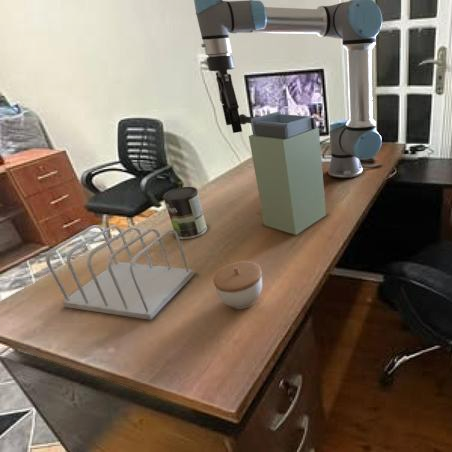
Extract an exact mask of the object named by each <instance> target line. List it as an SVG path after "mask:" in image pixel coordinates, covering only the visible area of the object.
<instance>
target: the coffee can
mask: <svg viewBox="0 0 452 452" xmlns="http://www.w3.org/2000/svg"><path fill="white" fill-rule="evenodd" d="M162 199H163V201H164V205H165V207H166V209H167V213H168V216H169V219H170V222H171V225H172V230H175V231H176V232H177V234H178V236H179V239H180V240H190V239H194V238H198V237H199V236H200V237H201V236H202V235H204V233H206V232H207V230H208V226H207V223H206V219H205V215H204V211H203V208H202V205H201V200H200V197H199V193H198V188H196V187H194V186H182V187H176V188H173V189H170V190H168V191H166V192H165V193H163V195H162Z"/></svg>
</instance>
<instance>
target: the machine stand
mask: <svg viewBox="0 0 452 452" xmlns="http://www.w3.org/2000/svg"><path fill="white" fill-rule="evenodd" d="M311 126H312V129H311V130H308V131H306V132H303V133H300V134H297V135H294V136H292V137H289V138H288V132H287V127H282V126H273V125H263V124H255V131H256V134H253V133H252V134H250V135H248V142H249V146H250V153H251V157H252V163H253V168H254V174H255V178H256V184H257V189H258V195H259V201H260V207H261V213H262V219H263V223H264V226H266V227H269V228H272V229H275V230H279V231H281V232H284V233H288V234H290V235H294V236H297V235H298V234H300V233H301V232H304V230H306V229H307V228H309V227H311V226H313V225H314V224H315V223H316V222H318V221H320V220H321V219H322V218H324V217H326V216H327V209H326V208H327V207H326V197H325V184H324V173H323V160H322V151H321V150H322V148H321V137H320V127H317V121H316V117H312V116H311Z"/></svg>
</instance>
